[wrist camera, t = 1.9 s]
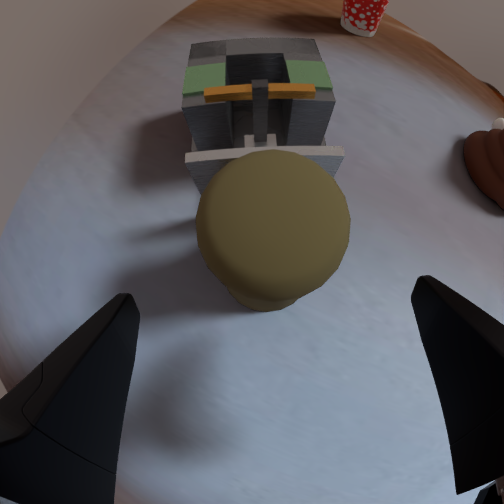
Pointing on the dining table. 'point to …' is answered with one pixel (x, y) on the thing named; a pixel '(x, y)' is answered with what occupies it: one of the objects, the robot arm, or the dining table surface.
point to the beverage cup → (362, 16)
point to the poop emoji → (487, 160)
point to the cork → (272, 228)
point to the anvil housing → (241, 111)
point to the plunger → (258, 130)
